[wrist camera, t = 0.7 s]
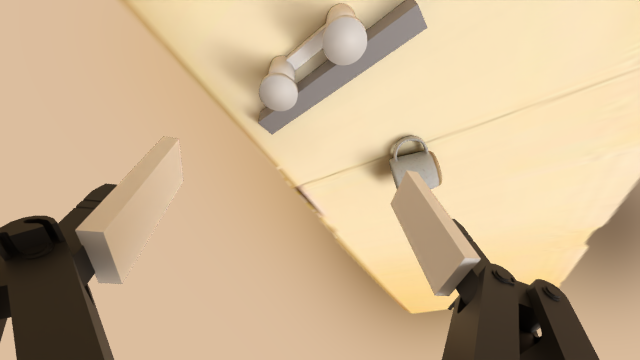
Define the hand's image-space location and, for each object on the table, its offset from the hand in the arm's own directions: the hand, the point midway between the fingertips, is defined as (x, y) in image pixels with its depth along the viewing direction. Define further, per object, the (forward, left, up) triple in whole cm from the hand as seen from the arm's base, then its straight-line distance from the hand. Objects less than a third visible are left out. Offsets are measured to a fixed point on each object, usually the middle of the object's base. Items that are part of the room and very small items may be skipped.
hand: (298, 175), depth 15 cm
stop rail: (+2, +4, -26) cm, 26 cm away
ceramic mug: (0, +30, -26) cm, 40 cm away
